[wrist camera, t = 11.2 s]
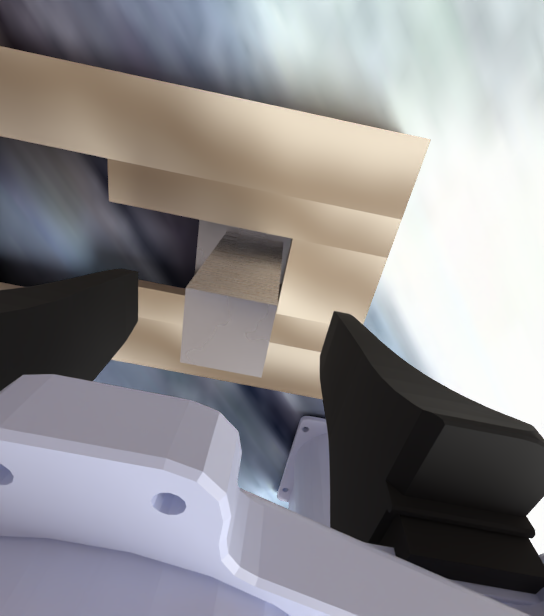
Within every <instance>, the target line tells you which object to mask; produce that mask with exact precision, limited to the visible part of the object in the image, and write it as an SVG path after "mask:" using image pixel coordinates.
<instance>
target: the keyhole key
mask: <svg viewBox="0 0 544 616" xmlns="http://www.w3.org/2000/svg"><path fill="white" fill-rule="evenodd" d="M291 241H292V238H287V237H282V236H277V235H272V234H267V233H262V232H258V231H253V230H248V229H243V228H238V227H233V226H228V225H223V224H218V223H213V222H209V221H204V220H199V230H198V242H197V253H196V264H195V276H194V277H193V278H192V280H191V281H190V282H189V284H188V285H187V287H186V290H185V303H184V316H183V329H182V342H181V355H180V362H181V363H187V364H192V365H197V366H202V367H208V368H213V369H218V370H224V371H229V372H234V373H239V374H245V375H250V376H255V377H260V378H261V377H262V373H263V368H264V364H265V359H266V355H267V350H268V346H269V341H270V337H271V332H272V328H273V323H274V319H275V314H276V310H277V305H278V299H279V295H280V290H281V286H282V281H283V277H284V272H285V268H286V263H287V259H288V254H289V250H290V245H291Z"/></svg>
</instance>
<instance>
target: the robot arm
mask: <svg viewBox="0 0 544 616" xmlns="http://www.w3.org/2000/svg"><path fill="white" fill-rule="evenodd" d="M137 322H138V272H136V271H131V270H126V269H112V270H107V271H102V272H97V273H93V274H88V275H84V276H80V277H75V278H71V279H66V280H61V281H56V282H51V283H46V284H41V285H35V286H29V287H22V288H14V289H6V290H0V616H544V554H540V555H538V554H537V552H536V550H535V549H534V547H533V545H532V543H531V542H530V540H529V538H533V537H534V536H535V530H534V528H533V526H532V525H531V523H530V522H529V520H528V518H527V517H526V515H527V514H528V513H529V512H530V511H531V510H532V509H533V508H534V506H535V505H536V504H537V503H538V502H539V501H540V500H541V499H542V498H543V497H544V439H543V437H542V436H541V435H540V434H539V433H538V431H537V430H536V429H535V428H534V427H533V426H532V425H530V424H527V423H525V422H522V421H520V420H517V419H515V418H512V417H510V416H507V415H505V414H502V413H500V412H497V411H495V410H492V409H490V408H488V407H485V406H483V405H481V404H479V403H477V402H475V401H472V400H470V399H468V398H466V397H464V396H462V395H460V394H458V393H456V392H454V391H452V390H450V389H449V388H447V387H445V386H443V385H442V384H440V383H438V382H436V381H435V380H433V379H431V378H430V377H428V376H426V375H425V374H423V373H422V372H420V371H419V370H417V369H416V368H414V367H413V366H411V365H410V364H408V363H407V362H406V361H404V360H403V359H402V358H400V357H399V356H398V355H397V354H395V353H394V352H393V351H392V350H390V349H389V348H388V347H387V346H386V345H385V344H383V343H382V342H381V341H380V340H379V339H378V338H377V337H376V336H374V335H373V334H372V333H371V332H370V331H369V330H368V329H367V328H366V327H365V326H364V325H363V324H362V323H361V322H359V321H358V320H357V319H356V318H355V317H354V316H352V315H351V314H348V313H343V312H338V311H334V312H333V315H332V318H331V322H330V325H329V328H328V331H327V334H326V338H325V341H324V344H323V347H322V350H321V354H320V384H321V391H322V398H323V404H324V411H325V417H326V419H323V418H317V417H312V416H303V417H302V418H301V419H300V422H299V425H298V428H297V431H296V435H295V438H294V441H293V444H292V447H291V451H290V454H289V457H288V460H287V463H286V467H285V470H284V473H283V476H282V479H281V483H280V486H279V489H278V492H277V498H278V499H279V500H281V501H286V502H289V509H287V508H284V507H282V506H280V505H277V504H275V503H273V502H271V501H268V500H266V499H264V498H261V497H259V496H257V495H255V494H252V493H250V492H248V491H245V490H243V489H241V488H239V486H238V484H237V480H238V474H239V468H240V462H241V456H242V450H241V443H240V437H239V431H238V430H237V429H236V428H235V427H234V426H233V425H232V424H231V423H230V422H229V421H228V420H227V419H226V418H225V417H224V416H223V415H222V414H221V413H220V412H219V411H217V410H215V409H212V408H210V407H207V406H205V405H202V404H200V403H197V402H195V401H192V400H189V399H183V398H178V397H173V396H167V395H162V394H157V393H151V392H146V391H141V390H135V389H130V388H125V387H119V386H114V385H109V384H103V383H98V382H93V380H94V379H95V378H96V377H97V375H98V374H99V373H100V372H101V371H102V370H103V368H104V367H105V366H106V365H107V364H108V362H109V361H110V360H111V359H112V358H113V357H114V355H115V354H116V353H117V352H118V351H119V349H120V348H121V347H122V346H123V344H124V343H125V342H126V341H127V339H128V337H129V336H130V334H131V333H132V331H133V329H134V327H135V326H136V324H137ZM304 427H307V428H304Z"/></svg>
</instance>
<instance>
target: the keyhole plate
mask: <svg viewBox="0 0 544 616" xmlns="http://www.w3.org/2000/svg"><path fill="white" fill-rule="evenodd" d="M0 136H2V137H7V138H12V139H17V140H22V141H26V142H31V143H36V144H41V145H46V146H50V147H55V148H60V149H65V150H70V151H74V152H79V153H84V154H89V155H94V156H98V157H103V158H108V186H109V201H110V202H115V203H120V204H125V205H130V206H135V207H140V208H145V209H150V210H155V211H160V212H164V213H169V214H174V215H179V216H184V217H189V218H194V219H199V220H204V221H209V222H213V223H218V224H223V225H228V226H233V227H238V228H243V229H248V230H253V231H258V232H262V233H267V234H272V235H277V236H282V237H287V238H292V241H291V245H290V250H289V254H288V259H287V263H286V268H285V272H284V277H283V281H282V286H281V290H280V295H279V299H278V305H277V310H276V314H275V319H274V323H273V328H272V332H271V337H270V341H269V346H268V350H267V355H266V359H265V364H264V368H263V373H262V377H261V378H260V377H255V376H250V375H245V374H239V373H234V372H229V371H224V370H218V369H213V368H208V367H202V366H197V365H192V364H187V363H181V362H180V355H181V342H182V329H183V316H184V303H185V290H186V289H184V288H179V287H174V286H169V285H164V284H159V283H154V282H149V281H144V280H139V279H138V322H137V324H136V326H135V327H134V329H133V331H132V333H131V334H130V336H129V337H128V339H127V341H126V342H125V343H124V344H123V346H122V347H121V348H120V349H119V351H118V352H117V353H116V354H115V355H114V357H113V358H112V359H111V360H116V361H122V362H127V363H132V364H138V365H143V366H148V367H153V368H159V369H164V370H169V371H175V372H180V373H185V374H191V375H196V376H201V377H207V378H212V379H217V380H222V381H228V382H233V383H238V384H244V385H249V386H254V387H260V388H265V389H270V390H276V391H281V392H286V393H291V394H297V395H302V396H307V397H313V398H318V399H323V398H322V391H321V384H320V354H321V350H322V347H323V344H324V341H325V338H326V334H327V331H328V328H329V325H330V322H331V318H332V315H333V312H334V311H338V312H343V313H348V314H351V315H352V316H354V317H355V318H356V319H357V320H358V321H359V322H361V323H362V324H363V323H364V321H365V318H366V315H367V312H368V310H369V307H370V304H371V301H372V299H373V296H374V293H375V291H376V288H377V285H378V282H379V280H380V277H381V274H382V271H383V269H384V266H385V263H386V261H387V258H388V255H389V252H390V250H391V247H392V244H393V241H394V239H395V236H396V233H397V231H398V228H399V225H400V222H401V220H402V217H403V214H404V211H405V209H406V206H407V203H408V201H409V198H410V195H411V192H412V190H413V187H414V184H415V182H416V179H417V176H418V173H419V171H420V168H421V165H422V162H423V160H424V157H425V154H426V152H427V149H428V146H429V143H430V141H431V139H426V138H422V137H417V136H412V135H408V134H403V133H398V132H394V131H389V130H385V129H380V128H375V127H371V126H366V125H362V124H357V123H352V122H348V121H343V120H339V119H334V118H329V117H325V116H320V115H315V114H311V113H306V112H302V111H297V110H292V109H288V108H283V107H279V106H274V105H269V104H265V103H260V102H256V101H251V100H246V99H242V98H237V97H233V96H228V95H223V94H219V93H214V92H209V91H205V90H200V89H196V88H191V87H186V86H182V85H177V84H173V83H168V82H163V81H159V80H154V79H150V78H145V77H140V76H136V75H131V74H126V73H122V72H117V71H113V70H108V69H103V68H99V67H94V66H90V65H85V64H80V63H76V62H71V61H67V60H62V59H57V58H53V57H48V56H44V55H39V54H34V53H30V52H25V51H20V50H16V49H11V48H7V47H2V46H0ZM14 288H22V286H17V285H12V284H7V283H2V282H0V290H6V289H14Z"/></svg>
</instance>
